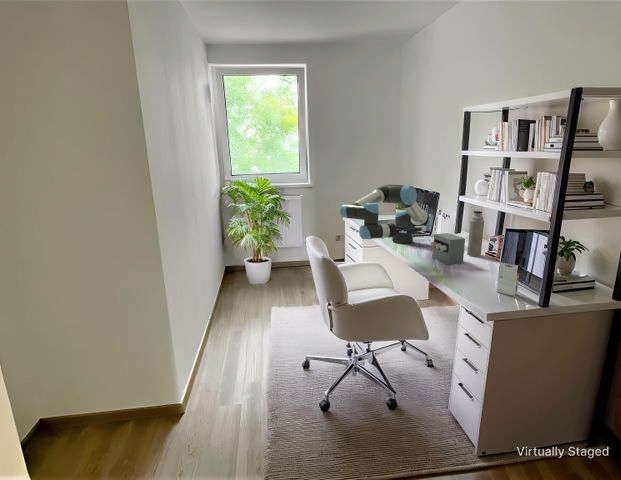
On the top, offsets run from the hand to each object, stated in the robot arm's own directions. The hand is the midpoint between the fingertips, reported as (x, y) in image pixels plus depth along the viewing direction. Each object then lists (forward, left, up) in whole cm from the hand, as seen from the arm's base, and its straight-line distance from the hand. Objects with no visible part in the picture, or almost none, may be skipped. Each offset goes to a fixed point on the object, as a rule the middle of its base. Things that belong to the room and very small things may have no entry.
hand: (425, 228), depth 209 cm
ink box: (+44, +25, -22) cm, 55 cm away
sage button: (-4, +14, -14) cm, 20 cm away
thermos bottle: (-21, +38, -22) cm, 49 cm away
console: (-10, +17, -22) cm, 30 cm away
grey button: (-8, +12, -14) cm, 20 cm away
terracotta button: (-13, +11, -14) cm, 22 cm away
